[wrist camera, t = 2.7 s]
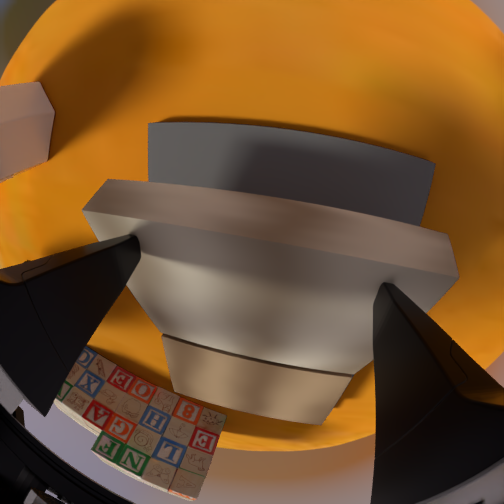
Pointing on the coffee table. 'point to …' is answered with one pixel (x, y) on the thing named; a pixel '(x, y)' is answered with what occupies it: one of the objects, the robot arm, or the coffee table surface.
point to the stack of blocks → (141, 425)
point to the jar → (24, 128)
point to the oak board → (252, 382)
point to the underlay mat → (291, 167)
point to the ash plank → (268, 269)
